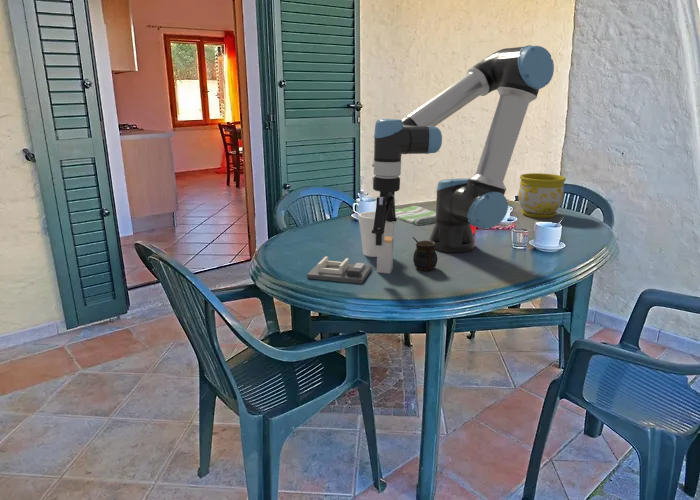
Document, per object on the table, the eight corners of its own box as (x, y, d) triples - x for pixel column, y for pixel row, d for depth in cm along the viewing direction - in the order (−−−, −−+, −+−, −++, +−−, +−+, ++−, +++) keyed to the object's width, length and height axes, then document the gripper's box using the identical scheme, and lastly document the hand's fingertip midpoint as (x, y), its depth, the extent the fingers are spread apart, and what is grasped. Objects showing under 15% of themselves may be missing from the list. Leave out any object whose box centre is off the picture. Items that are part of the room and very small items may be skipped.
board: (371, 269, 151) (371, 257, 150) (361, 283, 140) (361, 270, 139) (320, 264, 156) (320, 253, 154) (307, 278, 144) (306, 265, 143)
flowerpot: (509, 210, 225) (513, 173, 220) (548, 209, 227) (552, 172, 222) (527, 220, 208) (531, 180, 203) (569, 219, 210) (574, 179, 205)
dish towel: (415, 226, 201) (416, 218, 200) (383, 215, 220) (383, 207, 218) (449, 221, 209) (449, 213, 208) (415, 210, 228) (415, 202, 227)
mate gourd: (441, 271, 150) (442, 238, 147) (417, 274, 148) (418, 241, 145) (431, 263, 157) (432, 232, 154) (408, 266, 155) (408, 234, 152)
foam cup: (367, 259, 160) (367, 219, 156) (353, 251, 168) (353, 213, 164) (393, 255, 164) (394, 216, 160) (378, 248, 172) (379, 210, 168)
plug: (392, 269, 152) (393, 236, 149) (390, 273, 148) (391, 240, 145) (379, 267, 153) (380, 235, 150) (376, 272, 149) (377, 239, 146)
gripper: (382, 169, 154) (380, 236, 161) (362, 182, 131) (360, 260, 138) (407, 170, 153) (403, 239, 159) (391, 184, 130) (388, 263, 136)
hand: (383, 249), depth 148 cm, fingers open, 13 cm apart
